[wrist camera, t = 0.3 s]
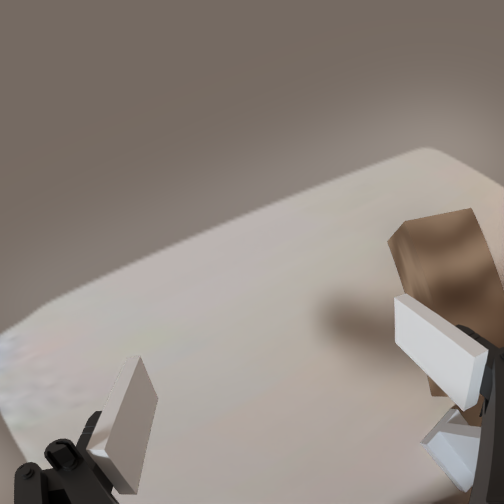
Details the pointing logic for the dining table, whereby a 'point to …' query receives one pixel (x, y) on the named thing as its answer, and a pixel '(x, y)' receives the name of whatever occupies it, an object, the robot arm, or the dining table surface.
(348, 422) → the dining table surface
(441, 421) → the board
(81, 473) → the robot arm
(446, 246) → the walnut block
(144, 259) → the dining table surface
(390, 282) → the dining table surface
